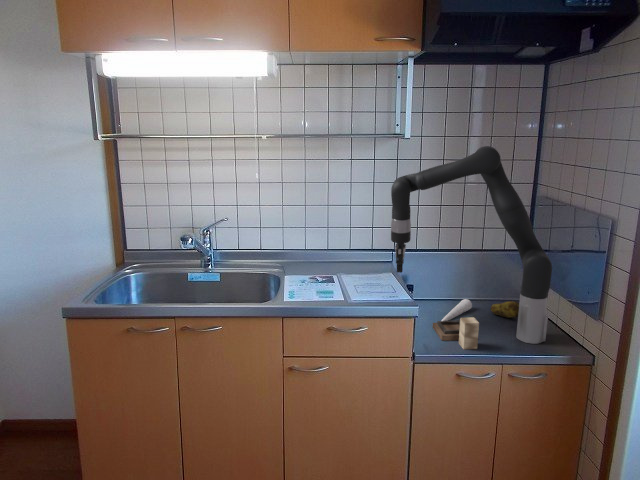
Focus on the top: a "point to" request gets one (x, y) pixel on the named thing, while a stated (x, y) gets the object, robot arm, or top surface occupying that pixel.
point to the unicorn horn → (458, 309)
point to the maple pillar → (468, 333)
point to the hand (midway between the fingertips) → (400, 267)
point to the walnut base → (447, 330)
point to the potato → (506, 309)
